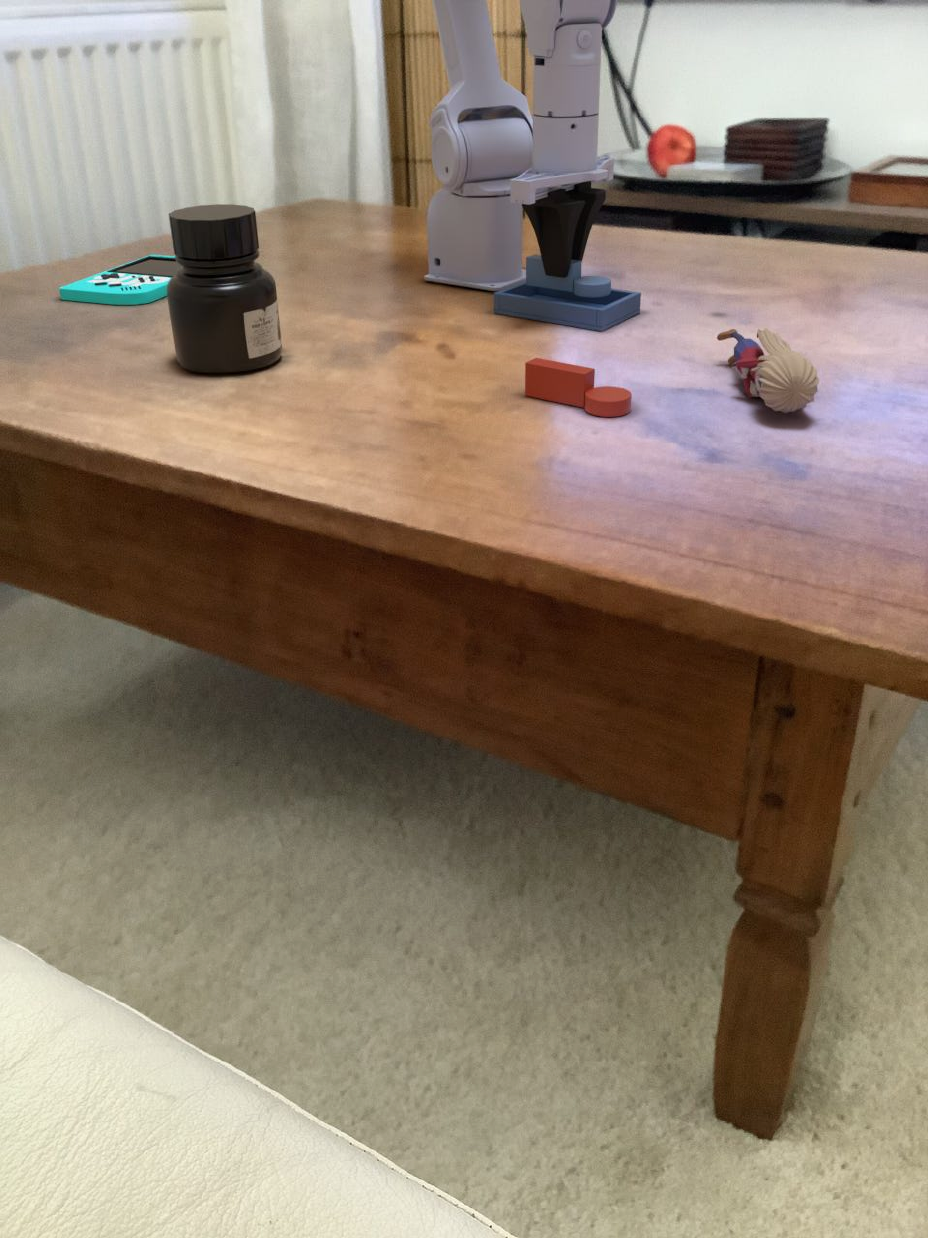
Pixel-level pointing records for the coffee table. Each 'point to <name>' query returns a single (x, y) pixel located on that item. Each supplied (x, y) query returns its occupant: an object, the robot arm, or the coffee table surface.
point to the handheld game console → (125, 283)
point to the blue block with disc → (566, 279)
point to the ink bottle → (221, 292)
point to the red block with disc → (574, 388)
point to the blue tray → (567, 306)
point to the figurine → (773, 371)
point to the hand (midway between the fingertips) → (562, 273)
